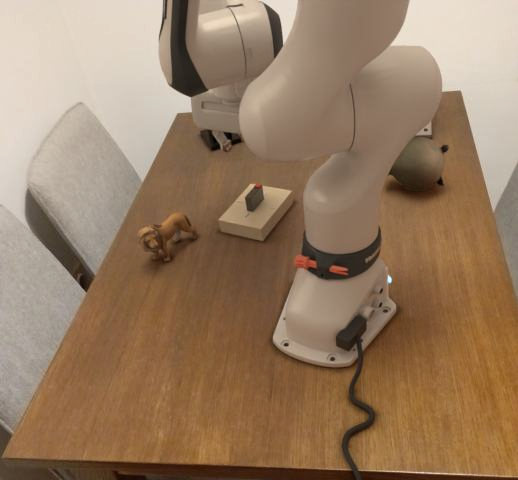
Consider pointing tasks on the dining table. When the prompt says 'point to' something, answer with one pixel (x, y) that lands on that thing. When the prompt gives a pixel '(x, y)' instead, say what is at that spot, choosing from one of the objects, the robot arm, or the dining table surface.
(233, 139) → the lever bracket
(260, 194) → the thumbturn
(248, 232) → the lock plate
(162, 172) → the dining table surface
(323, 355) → the robot arm
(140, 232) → the lion figurine
